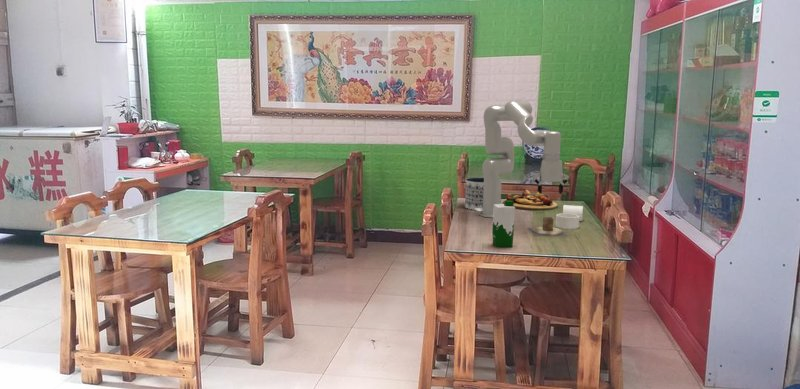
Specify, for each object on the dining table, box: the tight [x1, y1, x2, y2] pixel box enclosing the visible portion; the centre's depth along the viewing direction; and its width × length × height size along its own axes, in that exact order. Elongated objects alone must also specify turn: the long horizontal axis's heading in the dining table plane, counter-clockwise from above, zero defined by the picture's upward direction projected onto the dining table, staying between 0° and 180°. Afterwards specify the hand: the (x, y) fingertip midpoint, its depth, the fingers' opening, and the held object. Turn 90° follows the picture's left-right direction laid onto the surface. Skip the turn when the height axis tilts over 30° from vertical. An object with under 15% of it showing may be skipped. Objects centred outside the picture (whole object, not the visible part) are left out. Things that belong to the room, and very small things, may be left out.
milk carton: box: [491, 199, 516, 248], centre depth 278 cm, size 9×9×20 cm
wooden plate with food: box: [502, 189, 559, 211], centre depth 374 cm, size 32×32×8 cm
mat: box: [527, 227, 569, 237], centre depth 304 cm, size 16×16×1 cm
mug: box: [562, 204, 584, 222], centre depth 335 cm, size 12×10×8 cm
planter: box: [464, 177, 484, 211], centre depth 364 cm, size 18×18×16 cm
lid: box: [532, 216, 564, 235], centre depth 303 cm, size 14×14×7 cm
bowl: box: [555, 212, 580, 230], centre depth 317 cm, size 11×11×6 cm
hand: (550, 193), depth 301 cm, fingers open, 9 cm apart
